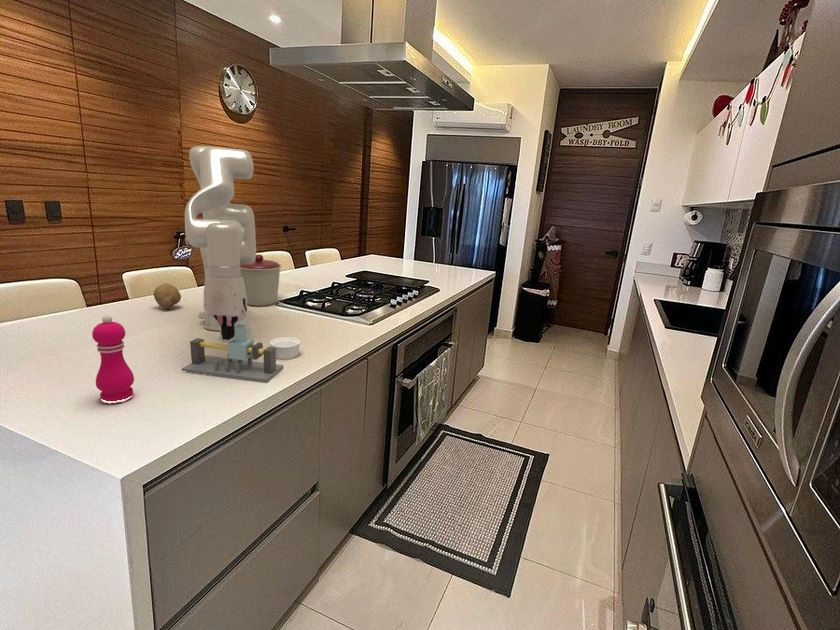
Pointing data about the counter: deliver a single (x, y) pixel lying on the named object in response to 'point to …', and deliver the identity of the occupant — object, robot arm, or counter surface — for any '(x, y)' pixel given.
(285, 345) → the ramekin
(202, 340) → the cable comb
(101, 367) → the pepper mill
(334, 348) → the counter surface
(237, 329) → the sleeve
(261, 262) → the canister
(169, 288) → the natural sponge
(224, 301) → the robot arm
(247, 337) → the small box
